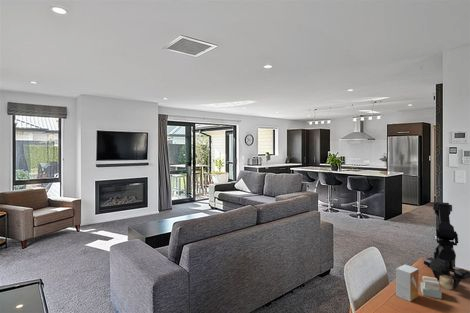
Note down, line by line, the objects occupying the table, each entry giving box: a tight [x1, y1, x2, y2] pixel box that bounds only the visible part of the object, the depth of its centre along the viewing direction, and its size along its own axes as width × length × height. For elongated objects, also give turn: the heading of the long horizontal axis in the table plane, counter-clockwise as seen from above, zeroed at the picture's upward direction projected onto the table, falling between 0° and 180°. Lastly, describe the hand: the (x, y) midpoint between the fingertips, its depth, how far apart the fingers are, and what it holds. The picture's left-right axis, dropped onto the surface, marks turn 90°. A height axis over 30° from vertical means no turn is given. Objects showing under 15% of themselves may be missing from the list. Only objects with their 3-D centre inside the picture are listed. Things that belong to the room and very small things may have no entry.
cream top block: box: [422, 275, 440, 291], centre depth 128 cm, size 6×6×4 cm
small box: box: [395, 264, 420, 302], centre depth 126 cm, size 8×6×13 cm
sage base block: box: [420, 281, 443, 300], centre depth 128 cm, size 7×7×4 cm
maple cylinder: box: [439, 275, 454, 291], centre depth 133 cm, size 5×5×5 cm
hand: (446, 284), depth 133 cm, fingers open, 8 cm apart
